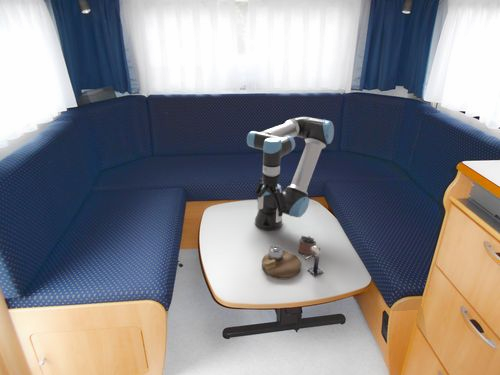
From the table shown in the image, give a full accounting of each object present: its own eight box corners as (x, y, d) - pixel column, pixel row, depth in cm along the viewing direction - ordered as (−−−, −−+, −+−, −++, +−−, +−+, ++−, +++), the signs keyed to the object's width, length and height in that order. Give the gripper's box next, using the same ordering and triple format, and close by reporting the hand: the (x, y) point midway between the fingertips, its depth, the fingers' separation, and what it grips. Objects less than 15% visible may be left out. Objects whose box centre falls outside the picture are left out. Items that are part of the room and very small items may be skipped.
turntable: (254, 261, 163) (254, 253, 161) (284, 249, 172) (285, 241, 169) (277, 284, 149) (277, 275, 147) (308, 269, 158) (310, 261, 156)
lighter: (315, 253, 170) (317, 236, 165) (314, 257, 167) (316, 240, 163) (299, 250, 172) (300, 233, 168) (297, 254, 169) (299, 237, 165)
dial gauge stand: (301, 273, 157) (304, 246, 150) (315, 267, 161) (318, 241, 154) (308, 279, 153) (311, 252, 147) (323, 273, 157) (326, 246, 151)
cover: (265, 255, 164) (265, 246, 162) (277, 251, 167) (277, 242, 165) (274, 263, 159) (274, 254, 156) (286, 258, 162) (286, 249, 160)
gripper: (247, 166, 159) (247, 206, 169) (283, 185, 141) (280, 229, 151) (260, 162, 163) (259, 202, 173) (296, 181, 145) (293, 224, 155)
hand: (269, 215), depth 162 cm, fingers open, 13 cm apart
